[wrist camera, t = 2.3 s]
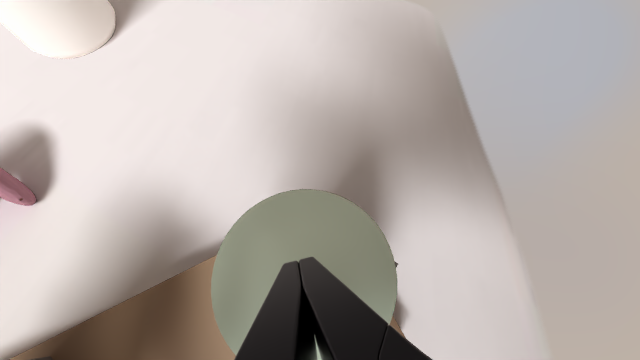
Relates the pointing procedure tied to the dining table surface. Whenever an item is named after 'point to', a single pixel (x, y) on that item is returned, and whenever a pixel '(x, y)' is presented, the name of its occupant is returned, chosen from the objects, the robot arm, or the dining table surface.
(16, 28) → the alcohol
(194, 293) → the button board
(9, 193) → the video game controller
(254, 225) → the pale green rounded piece
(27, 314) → the dining table surface
